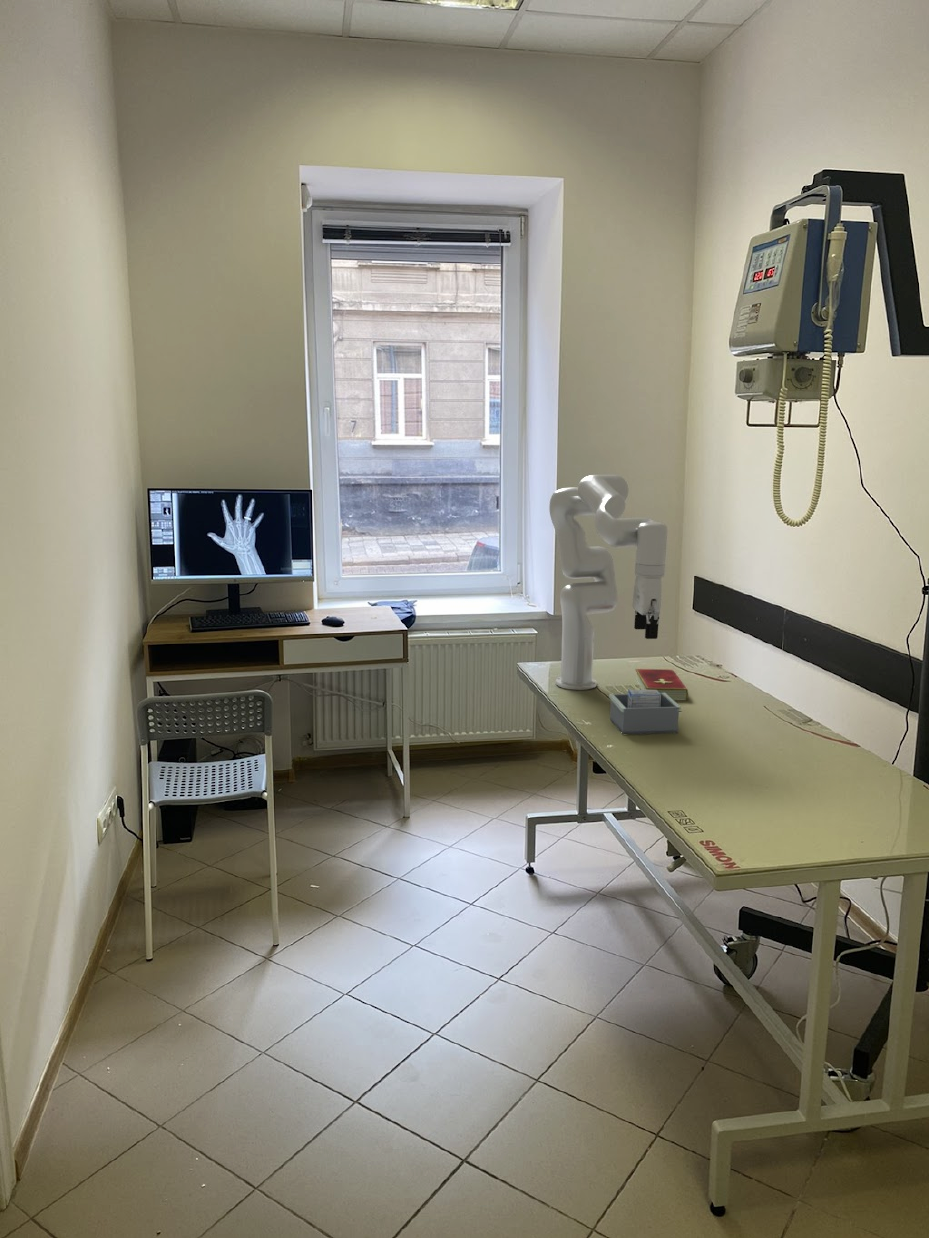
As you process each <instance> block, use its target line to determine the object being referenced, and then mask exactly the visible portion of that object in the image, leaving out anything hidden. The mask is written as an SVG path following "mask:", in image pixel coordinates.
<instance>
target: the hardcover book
mask: <svg viewBox="0 0 929 1238" xmlns="http://www.w3.org/2000/svg"><path fill="white" fill-rule="evenodd" d="M635 672H636V682H637V683H639V684H638V686H639V687H640V690H657V691H658V692H659V693H666V694H667V695H668V696H669V697H670V698H672V699H673V700H674V701H688V698H689V690H688V687H686V686H685V684H684V683H683V682H682V680H681V678H680V677H679V676H678V674H677V673H676V672H675V671H674V669H673V668H671V669H668V668H667V669H666V668H635Z"/></svg>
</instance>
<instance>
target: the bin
mask: <svg viewBox="0 0 929 1238" xmlns="http://www.w3.org/2000/svg"><path fill="white" fill-rule="evenodd" d="M660 695H661V703H660V707H643V708H627V706H628V693H618V694H617V693H615V694H613V693H609V695H608V698H609V699H610V707H609V708H610V712H609V720H610V721H611V722H612V724H613V725H614V726H615V727H616V728H617V730H618V731H619V732H620V733H621V732H622V733H621V734H622V735H623V734H633V735H660V734H661V735H663V734H664V735H665V734H666V735H667V734H678V732H679V731H678V729H679V718H680V717H679V714H680V712H681V711H682V707H681V706H680V705H679V704H678V703H677V702H676V700H673V699H672V698H670V697H669V696H668V695H667V694H666V693H660ZM653 733H654V734H653Z"/></svg>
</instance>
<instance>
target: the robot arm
mask: <svg viewBox="0 0 929 1238" xmlns="http://www.w3.org/2000/svg"><path fill="white" fill-rule="evenodd" d="M628 496H629V485H628V481H627V480H626V479H625V478H624V477H623V476H622V475H619V474H591V475H588V476H587V475H586V476H585V477H583V478H582V479H581V480H580V481H579V483H578V485H577V486H576V487H573V486H572V487H563V488H560V489H558V490H555V491H554V492H553V493H552V495H551V496H550V501H549V516H550V519H551V522H552V526H553V528H554V530H555V535H556V538H557V547H558V553H559V555H558V556H559V562H560V568H561V572H562V574H563V576H564V577H565V578H567V579H570V580H571V579H572V580H573V579H574V580H576V579H594V581H584V582H583V581H582V582H573V583H568V584H566V585H565V586H564V587H563V588H562V589H561V591H560V594H559V601H560V608H561V617H562V619H561V621H562V623H561V624H562V629H561V630H562V631H561V633H562V635H561V663H560V667H561V668H560V676H559V677H557V678H556V679H555V685H556V686H557V685H558V686H557V687H558V688H559V687H560V688H562V689H566V690H573V691H583V690H586V691H587V690H591V689H594V688H596V687H597V686H598V681H597V680H596V679H595V678H594V677H593V668H594V667H593V664H594V662H593V661H594V640H595V629H594V626H593V623H592V622H591V621H590V619H589V617H588V615H592V614H604V613H610V612H612V611H614V610H615V609H616V607H617V605H618V588H617V581H616V580H617V579H616V574H615V566H614V561H613V557H612V555H611V554H612V553H611V552H610V551H609V550H608V549H607V548H606V547H603V546H598V545H596V546H588V544H587V537H586V532H585V529H584V527H582V524H581V523H580V522H579V521H578V520H577V519H576V517H578V516H579V517H580V516H581V517H584V516H586V517H587V516H594V525H595V531H596V533H597V534H598V536H599V537H600V538H601V539H602V540H603V541H604V542H605V543H606V544H607V545H609V546H610V547H614V548H626V547H628V548H629V547H636V549H635V551H636V552H635V564H634V566H635V567H634V568H635V569H634V575H635V580H634V587H633V595H632V596H633V597H632V598H633V599H632V608H633V609H634V610H635V611H634V613H635V614H634V629H635V630H645V631H644V638H645V639H646V640H653V639H654V640H656V639H658V635H659V623H660V621H659V620H660V613H661V607H662V606H661V604H662V578H664V577H665V570H666V556H667V543H668V542H667V541H668V526H667V525H666V524H665V523H663V522H659V521H655V520H653V519H652V518H649V517H626V518H625V517H622V518H621V516H622V515H623V514H624V511H625V509H626V500H627V498H628Z"/></svg>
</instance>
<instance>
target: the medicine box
mask: <svg viewBox="0 0 929 1238" xmlns="http://www.w3.org/2000/svg"><path fill="white" fill-rule="evenodd" d="M627 694H628V706H627V708H643V707H660V703H661V695H660V693H659V692H658V691H657V690H642V689H628V690H627Z"/></svg>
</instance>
